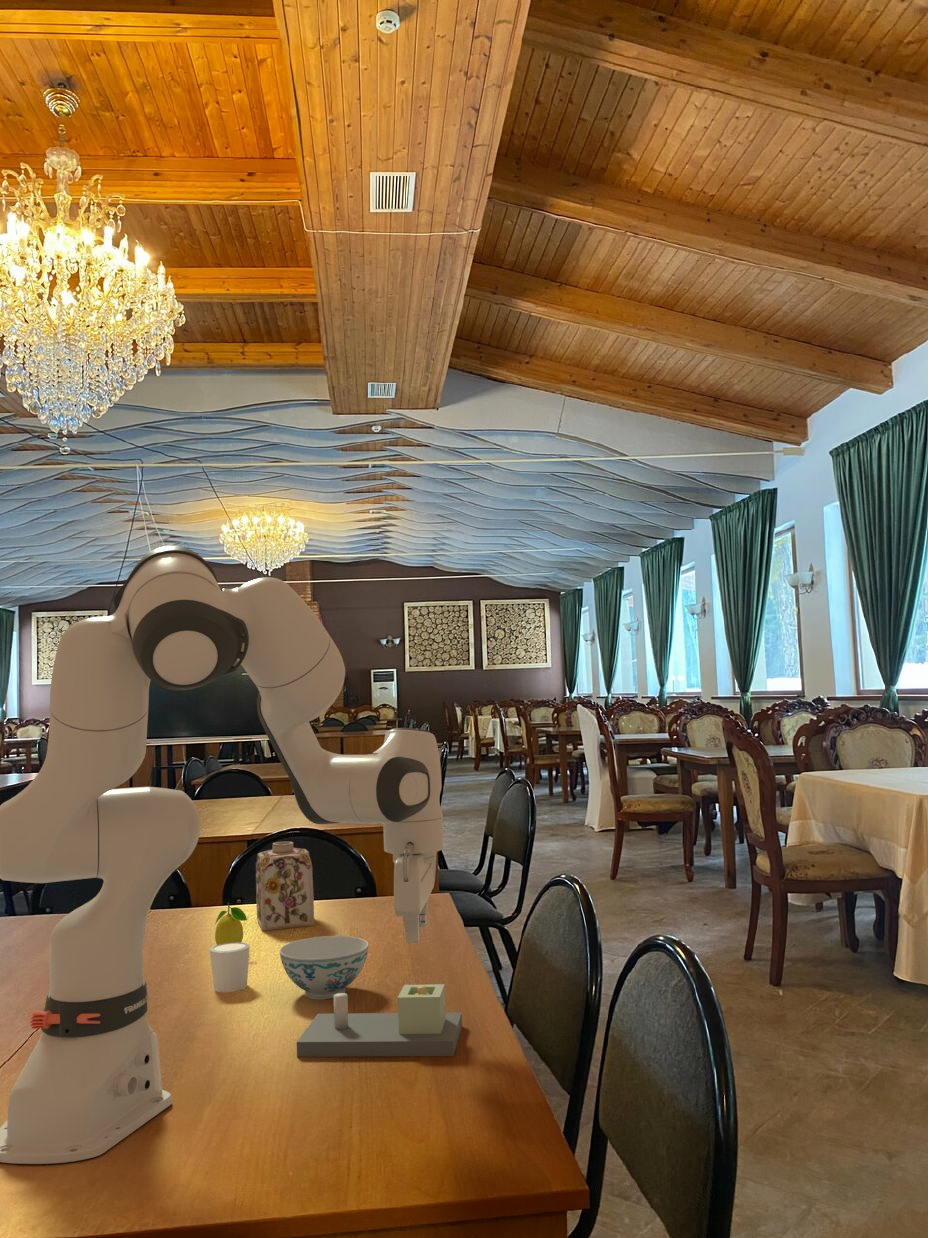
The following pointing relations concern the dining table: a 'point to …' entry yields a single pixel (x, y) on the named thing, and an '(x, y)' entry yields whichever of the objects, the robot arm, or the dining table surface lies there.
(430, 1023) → the collar block
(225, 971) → the shot glass
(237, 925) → the lemon
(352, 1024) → the stand board
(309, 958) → the chinaware
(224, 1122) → the dining table surface
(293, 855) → the decorative jar
